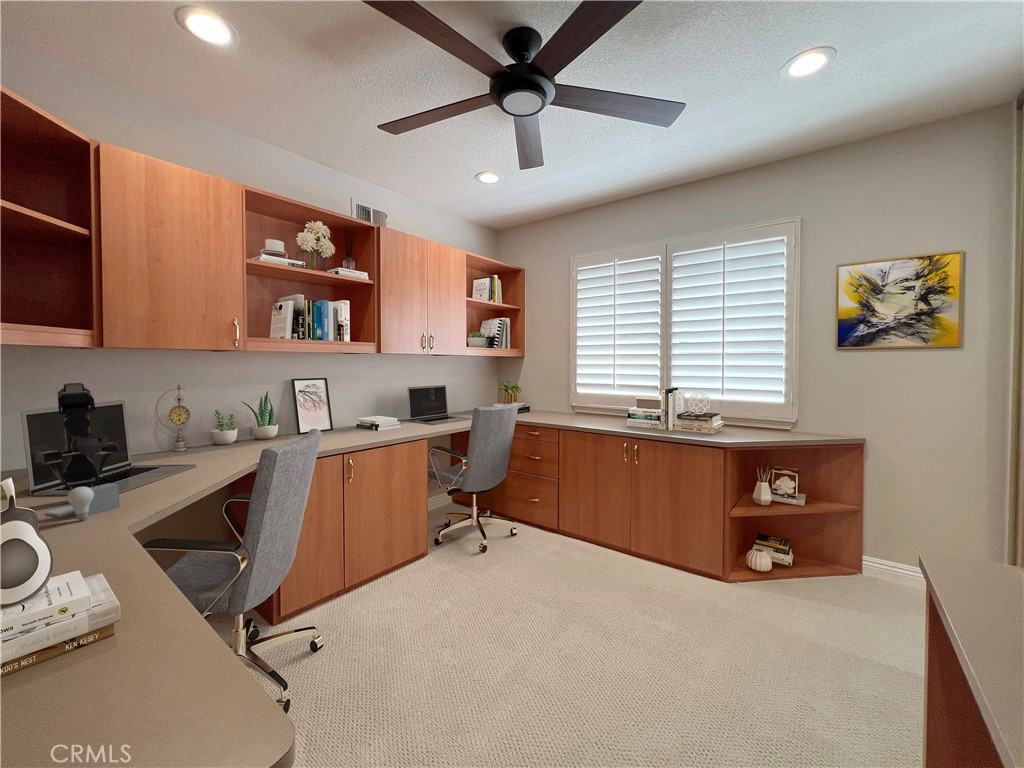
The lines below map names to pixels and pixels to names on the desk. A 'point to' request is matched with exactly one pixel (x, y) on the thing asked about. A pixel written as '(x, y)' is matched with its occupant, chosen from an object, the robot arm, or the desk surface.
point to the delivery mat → (62, 512)
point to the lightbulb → (80, 501)
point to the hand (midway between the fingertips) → (81, 478)
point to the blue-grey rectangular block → (104, 498)
